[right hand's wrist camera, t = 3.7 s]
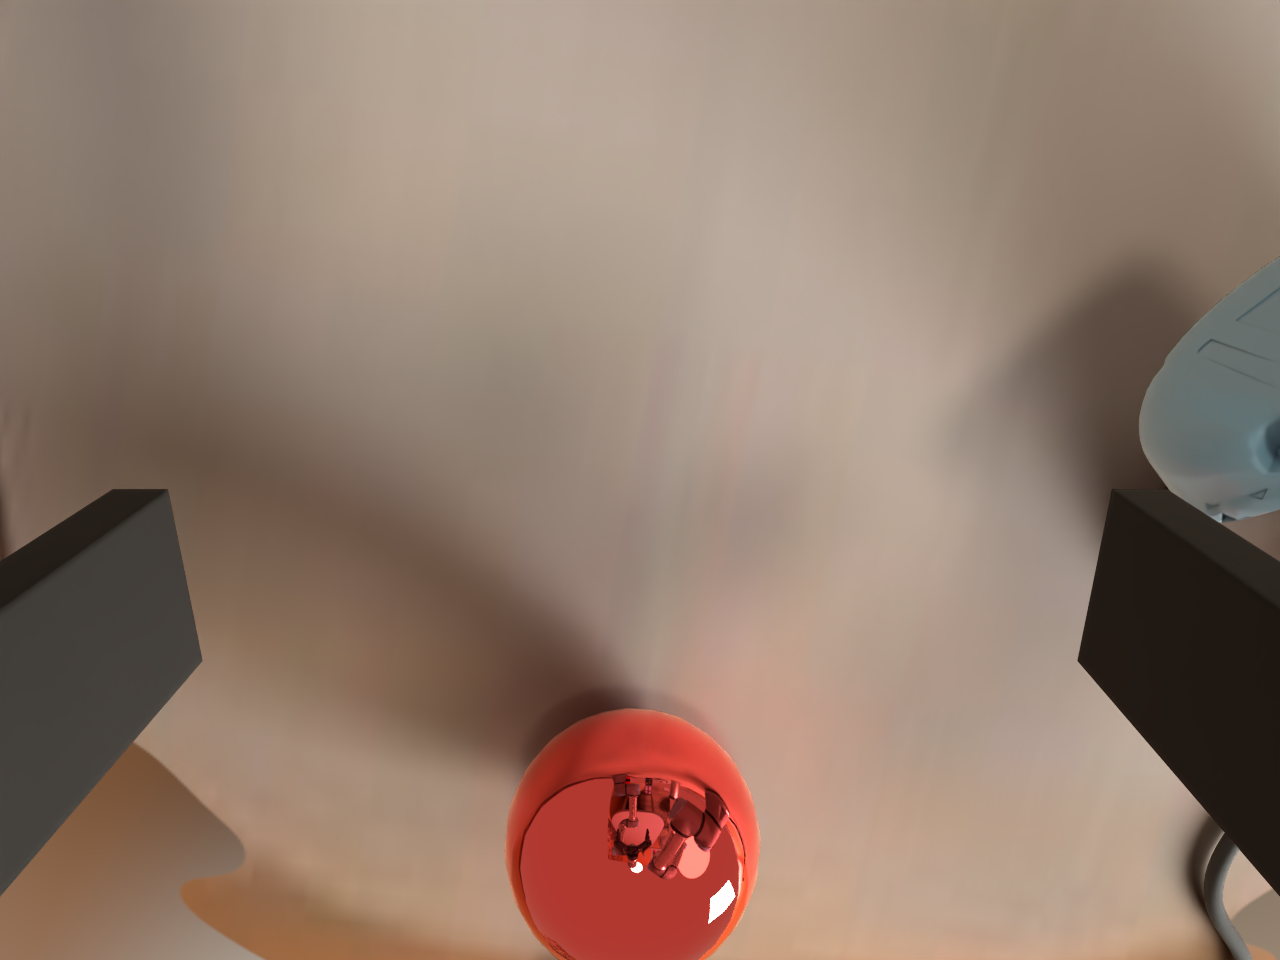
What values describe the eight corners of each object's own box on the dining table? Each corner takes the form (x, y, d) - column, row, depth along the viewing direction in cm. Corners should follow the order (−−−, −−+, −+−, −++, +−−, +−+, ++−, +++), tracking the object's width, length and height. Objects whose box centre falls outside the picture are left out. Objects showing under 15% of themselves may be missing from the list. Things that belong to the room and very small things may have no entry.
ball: (651, 878, 50) (654, 1088, 39) (478, 772, 48) (428, 964, 36) (791, 741, 47) (839, 928, 36) (614, 619, 44) (605, 778, 33)
